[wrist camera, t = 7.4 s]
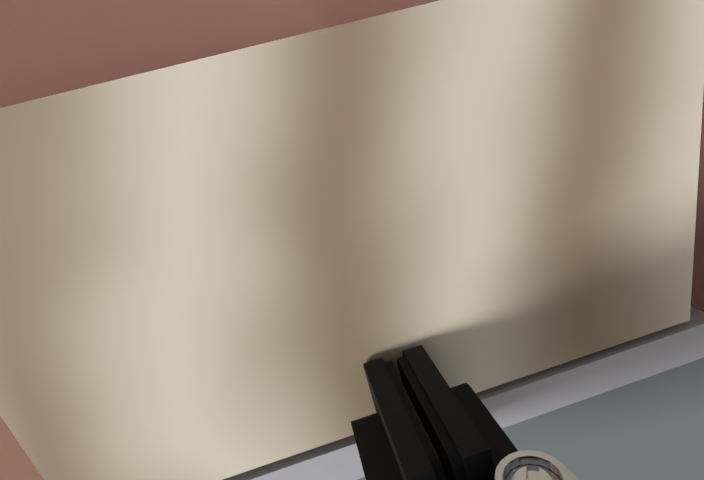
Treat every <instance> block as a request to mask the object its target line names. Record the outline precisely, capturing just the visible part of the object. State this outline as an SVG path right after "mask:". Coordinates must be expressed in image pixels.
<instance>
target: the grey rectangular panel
mask: <svg viewBox="0 0 704 480" xmlns="http://www.w3.org/2000/svg"><path fill="white" fill-rule="evenodd" d="M476 395H477V396H478V397H479V399H480V400H481V401H482V403H483V404H484V405H485V407H486V408H487V409H488V411H489V412H490V413H491V415H492V416H493V418H494V419H495V420H496V422H497V423H498V424H499V426H500V427H501V428H502V430H503V431H504V432H505V434H506V435H507V436H508V438H509V439H510V441H511V442H512V443H513V445H514V446H515V447H516V449H517V450H518V451H523V450H533V451H540V452H543V453H546V454H548V455H551V456H553V457H554V458H556V459H557V460H559V461H560V462H562V463H563V464H564V465H565V466H566V467H567V468H568V469H569V470H570V471H571V472H573V473H574V474H575V475H576V476H577V477H578V478H579V479H580V480H704V312H703V311H701V310H698V309H696V308H694V307H692V306H691V308H690V320H689V321H686V322H683V323H680V324H677V325H674V326H671V327H668V328H665V329H662V330H660V331H657V332H654V333H651V334H648V335H645V336H642V337H639V338H636V339H633V340H630V341H627V342H624V343H621V344H618V345H616V346H613V347H610V348H607V349H604V350H601V351H598V352H595V353H592V354H589V355H586V356H583V357H580V358H577V359H574V360H572V361H569V362H566V363H563V364H560V365H557V366H554V367H551V368H548V369H545V370H542V371H539V372H536V373H533V374H531V375H528V376H525V377H522V378H519V379H516V380H513V381H510V382H507V383H504V384H501V385H498V386H495V387H492V388H489V389H487V390H484V391H481V392H478V393H476ZM223 480H366V479H365V475H364V471H363V467H362V463H361V460H360V456H359V452H358V448H357V444H356V441H355V437H354V435H352V436H349V437H346V438H343V439H340V440H337V441H334V442H331V443H328V444H325V445H322V446H319V447H316V448H314V449H311V450H308V451H305V452H302V453H299V454H296V455H293V456H290V457H287V458H284V459H281V460H278V461H275V462H273V463H270V464H267V465H264V466H261V467H258V468H255V469H252V470H249V471H246V472H243V473H240V474H237V475H234V476H231V477H229V478H226V479H223Z"/></svg>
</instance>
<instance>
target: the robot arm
mask: <svg viewBox="0 0 704 480" xmlns="http://www.w3.org/2000/svg"><path fill="white" fill-rule="evenodd" d="M402 355H403V356H402V357H399V358H397V364H398V368H399V372H400V376H401V379H400V377H399V375H398V373H397V371H396V369H395V367H394V365H393V363H392V361H391V360H390V361H387V362H384V361H383V359H382V358H379V359H376V360H373V361H369V362H366V363H363V367H364V370H365V374H366V378H367V381H368V385H369V388H370V392H371V395H372V399H373V403H374V406H375V410H376V413H374V414H371V415H369V416H366V417H363V418H360V419H357V420H354V421H351V425H352V429H353V433H354V437H355V441H356V444H357V448H358V452H359V456H360V460H361V463H362V467H363V471H364V475H365V479H366V480H580V479H579V478H578V477H577V476H576V475H575V474H574V473H573V472H571V471H570V470H569V469H568V468H567V467H566V466H565V465H564V464H563V463H562V462H560V461H559V460H557V459H556V458H554V457H553V456H551V455H548V454H546V453H543V452H540V451H533V450H523V451H518V450H517V449H516V447H515V446H514V445H513V443H512V442H511V441H510V439H509V438H508V436H507V435H506V434H505V432H504V431H503V430H502V428H501V427H500V426H499V424H498V423H497V422H496V420H495V419H494V418H493V416H492V415H491V413H490V412H489V411H488V409H487V408H486V407H485V405H484V404H483V403H482V401H481V400H480V399H479V397H478V396H477V395H476V393H475V392H474V390H473V389H472V388H471V387H470V385H469V384H467V383H463V384H460V385H457V386H454V387H451V388H450V387H449V385H448V384H447V382H446V381H445V379H444V378H443V376H442V375H441V373H440V372H439V370H438V368H437V367H436V365H435V364H434V362H433V361H432V359H431V358H430V356H429V355H428V353H427V352H426V350H425V349H424V347H423V346H422V345H419V346H416V347H413V348H409V349H406V350H403V351H402ZM401 380H402V381H401Z"/></svg>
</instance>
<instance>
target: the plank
mask: <svg viewBox="0 0 704 480" xmlns="http://www.w3.org/2000/svg"><path fill="white" fill-rule="evenodd" d="M703 91H704V0H439V1H435V2H431V3H427V4H423V5H419V6H415V7H411V8H407V9H403V10H398V11H394V12H390V13H386V14H382V15H378V16H374V17H370V18H366V19H362V20H358V21H354V22H349V23H345V24H341V25H337V26H333V27H329V28H325V29H321V30H317V31H313V32H309V33H305V34H300V35H296V36H292V37H288V38H284V39H280V40H276V41H272V42H268V43H264V44H260V45H256V46H251V47H247V48H243V49H239V50H235V51H231V52H227V53H223V54H219V55H215V56H211V57H207V58H202V59H198V60H194V61H190V62H186V63H182V64H178V65H174V66H170V67H166V68H162V69H157V70H153V71H149V72H145V73H141V74H137V75H133V76H129V77H125V78H121V79H117V80H113V81H108V82H104V83H100V84H96V85H92V86H88V87H84V88H80V89H76V90H72V91H68V92H64V93H59V94H55V95H51V96H47V97H43V98H39V99H35V100H31V101H27V102H23V103H19V104H15V105H10V106H6V107H2V108H0V416H1V417H2V419H3V420H4V422H5V423H6V425H7V426H8V428H9V429H10V431H11V432H12V433H13V435H14V436H15V438H16V439H17V441H18V442H19V444H20V445H21V447H22V448H23V449H24V451H25V452H26V454H27V455H28V457H29V458H30V460H31V461H32V463H33V464H34V466H35V467H36V468H37V470H38V471H39V473H40V474H41V476H42V477H43V479H44V480H223V479H226V478H229V477H231V476H234V475H237V474H240V473H243V472H246V471H249V470H252V469H255V468H258V467H261V466H264V465H267V464H270V463H273V462H275V461H278V460H281V459H284V458H287V457H290V456H293V455H296V454H299V453H302V452H305V451H308V450H311V449H314V448H316V447H319V446H322V445H325V444H328V443H331V442H334V441H337V440H340V439H343V438H346V437H349V436H352V435H354V433H353V429H352V425H351V421H354V420H357V419H360V418H363V417H366V416H369V415H371V414H374V413H376V410H375V406H374V403H373V399H372V395H371V392H370V388H369V385H368V381H367V378H366V374H365V370H364V367H363V363H366V362H369V361H373V360H376V359H379V358H382V359H383V361H384V362H387V361H390V360H391V361H392V363H393V365H394V367H395V369H396V371H397V373H398V375H399V377H400V379H401V376H400V372H399V368H398V364H397V358H399V357H402V356H403V355H402V351H403V350H406V349H409V348H413V347H416V346H419V345H422V346H423V347H424V349H425V350H426V352H427V353H428V355H429V356H430V358H431V359H432V361H433V362H434V364H435V365H436V367H437V368H438V370H439V372H440V373H441V375H442V376H443V378H444V379H445V381H446V382H447V384H448V385H449V387H450V388H451V387H454V386H457V385H460V384H463V383H467V384H469V385H470V387H471V388H472V389H473V390H474V392H475V393H478V392H481V391H484V390H487V389H489V388H492V387H495V386H498V385H501V384H504V383H507V382H510V381H513V380H516V379H519V378H522V377H525V376H528V375H531V374H533V373H536V372H539V371H542V370H545V369H548V368H551V367H554V366H557V365H560V364H563V363H566V362H569V361H572V360H574V359H577V358H580V357H583V356H586V355H589V354H592V353H595V352H598V351H601V350H604V349H607V348H610V347H613V346H616V345H618V344H621V343H624V342H627V341H630V340H633V339H636V338H639V337H642V336H645V335H648V334H651V333H654V332H657V331H660V330H662V329H665V328H668V327H671V326H674V325H677V324H680V323H683V322H686V321H689V320H690V308H691V292H692V275H693V258H694V242H695V225H696V208H697V191H698V175H699V158H700V141H701V125H702V108H703ZM401 381H402V380H401Z"/></svg>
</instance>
